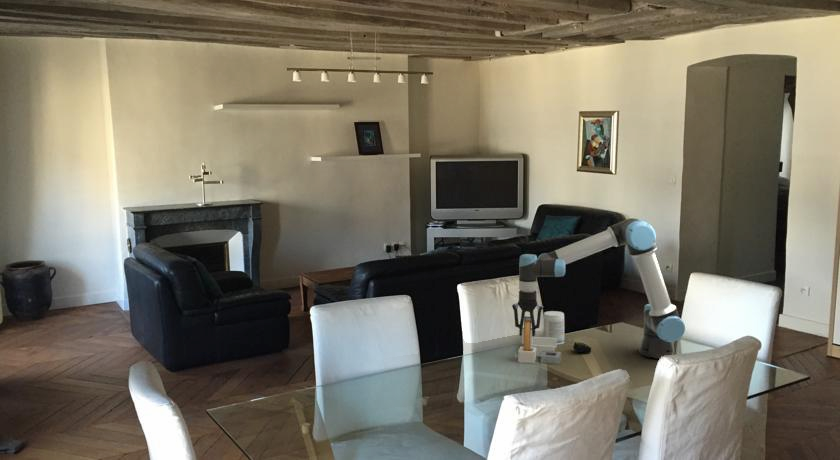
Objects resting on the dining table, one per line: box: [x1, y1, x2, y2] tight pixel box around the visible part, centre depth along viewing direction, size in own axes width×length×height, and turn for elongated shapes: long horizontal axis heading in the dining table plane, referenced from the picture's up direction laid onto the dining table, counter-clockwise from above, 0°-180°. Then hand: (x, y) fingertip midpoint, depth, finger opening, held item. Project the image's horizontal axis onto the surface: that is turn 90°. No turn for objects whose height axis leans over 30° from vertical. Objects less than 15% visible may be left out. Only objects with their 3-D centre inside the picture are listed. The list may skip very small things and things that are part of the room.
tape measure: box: [573, 341, 592, 354], centre depth 324 cm, size 7×7×4 cm
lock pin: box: [523, 315, 532, 351], centre depth 312 cm, size 4×4×16 cm
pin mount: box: [540, 351, 562, 365], centre depth 313 cm, size 8×8×3 cm
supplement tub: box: [543, 310, 565, 345], centre depth 338 cm, size 10×10×15 cm
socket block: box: [517, 346, 537, 364], centre depth 314 cm, size 7×7×5 cm
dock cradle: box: [531, 336, 558, 357], centre depth 326 cm, size 13×14×5 cm
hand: (527, 343), depth 313 cm, fingers closed on lock pin, 3 cm apart
